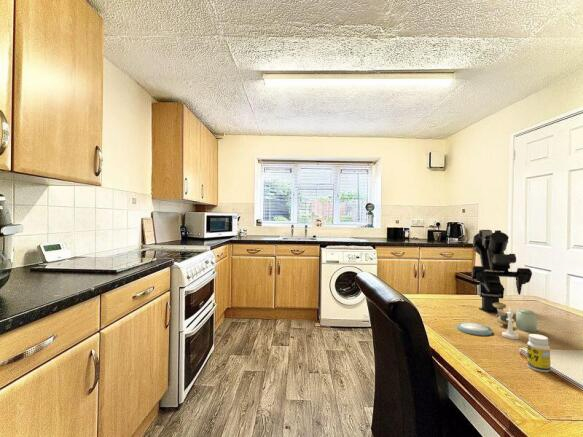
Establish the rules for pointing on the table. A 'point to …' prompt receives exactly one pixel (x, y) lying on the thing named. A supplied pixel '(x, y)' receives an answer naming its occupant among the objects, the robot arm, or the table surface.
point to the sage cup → (526, 320)
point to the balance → (501, 313)
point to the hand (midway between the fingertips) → (504, 292)
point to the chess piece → (510, 327)
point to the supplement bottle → (538, 353)
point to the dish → (474, 329)
